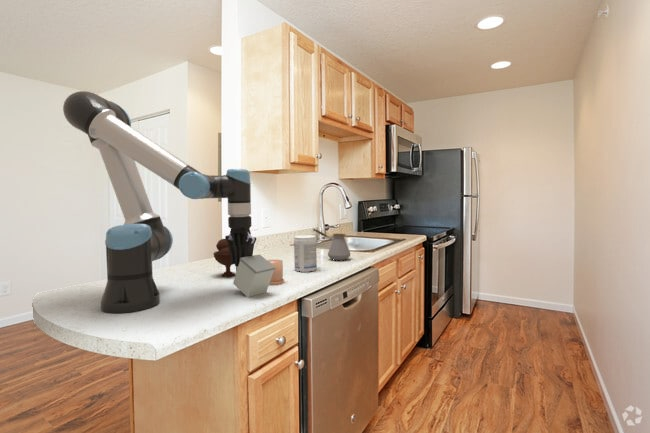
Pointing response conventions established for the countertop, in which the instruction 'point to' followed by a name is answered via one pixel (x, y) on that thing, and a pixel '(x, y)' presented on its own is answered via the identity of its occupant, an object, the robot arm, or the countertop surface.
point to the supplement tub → (305, 253)
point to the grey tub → (253, 275)
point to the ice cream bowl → (224, 257)
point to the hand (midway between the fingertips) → (241, 285)
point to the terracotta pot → (277, 272)
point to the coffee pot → (337, 247)
